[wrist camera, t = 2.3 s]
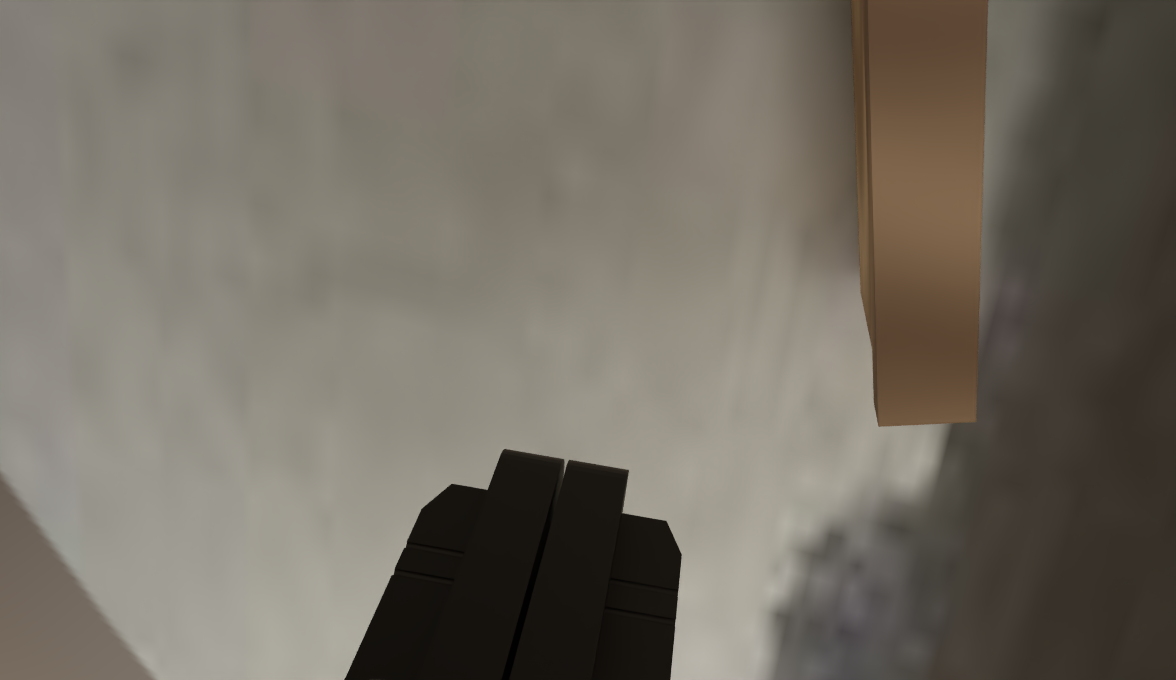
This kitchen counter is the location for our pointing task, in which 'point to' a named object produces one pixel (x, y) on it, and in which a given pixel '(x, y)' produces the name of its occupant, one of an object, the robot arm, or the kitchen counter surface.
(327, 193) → the kitchen counter surface
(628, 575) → the robot arm
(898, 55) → the gate
